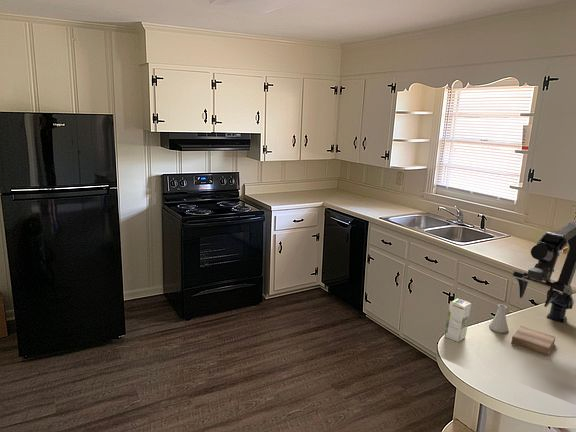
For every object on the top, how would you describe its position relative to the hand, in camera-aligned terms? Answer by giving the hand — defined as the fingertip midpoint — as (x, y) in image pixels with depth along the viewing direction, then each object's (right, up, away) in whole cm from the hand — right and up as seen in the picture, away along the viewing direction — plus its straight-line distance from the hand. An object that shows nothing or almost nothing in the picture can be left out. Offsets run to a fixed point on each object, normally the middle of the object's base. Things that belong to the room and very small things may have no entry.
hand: (532, 302), depth 172 cm
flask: (-10, -12, +6) cm, 17 cm away
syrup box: (-31, -13, -3) cm, 34 cm away
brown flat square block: (-3, -15, -5) cm, 16 cm away
